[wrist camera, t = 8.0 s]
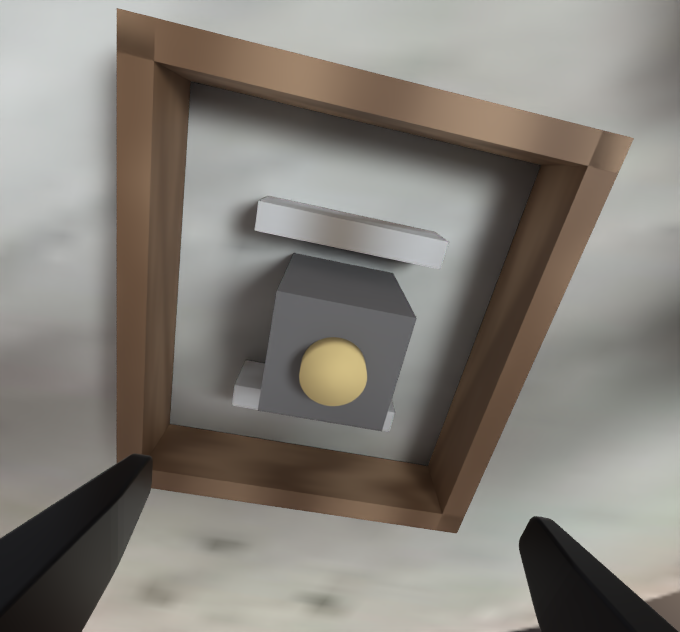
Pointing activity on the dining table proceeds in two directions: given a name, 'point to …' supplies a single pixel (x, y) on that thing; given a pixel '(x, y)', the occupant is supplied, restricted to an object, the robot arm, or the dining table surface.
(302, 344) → the grey block
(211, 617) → the dining table surface
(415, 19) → the dining table surface
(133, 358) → the wooden serving tray
